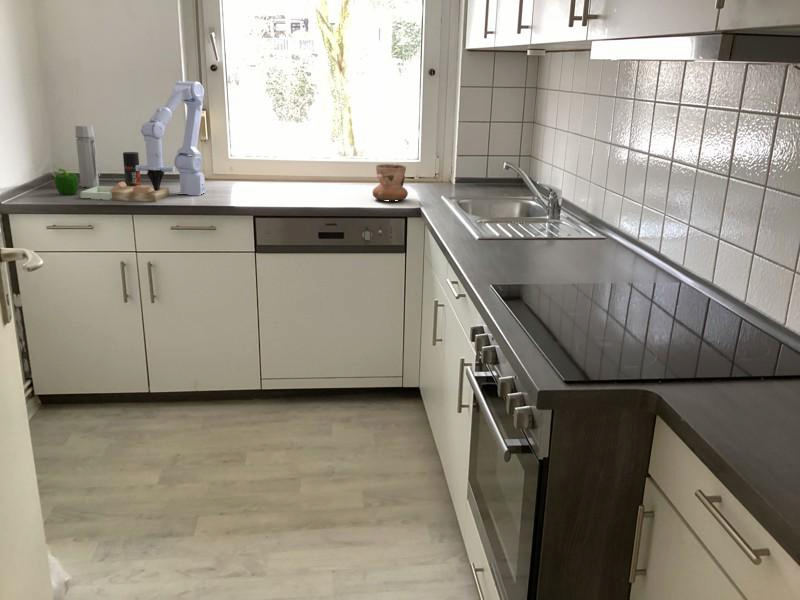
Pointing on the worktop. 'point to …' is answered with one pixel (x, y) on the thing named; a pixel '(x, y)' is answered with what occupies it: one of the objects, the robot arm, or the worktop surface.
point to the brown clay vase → (390, 182)
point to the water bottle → (87, 156)
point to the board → (139, 194)
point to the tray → (97, 193)
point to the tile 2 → (141, 189)
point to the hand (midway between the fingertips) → (156, 190)
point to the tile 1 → (118, 186)
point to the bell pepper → (66, 183)
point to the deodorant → (131, 168)
